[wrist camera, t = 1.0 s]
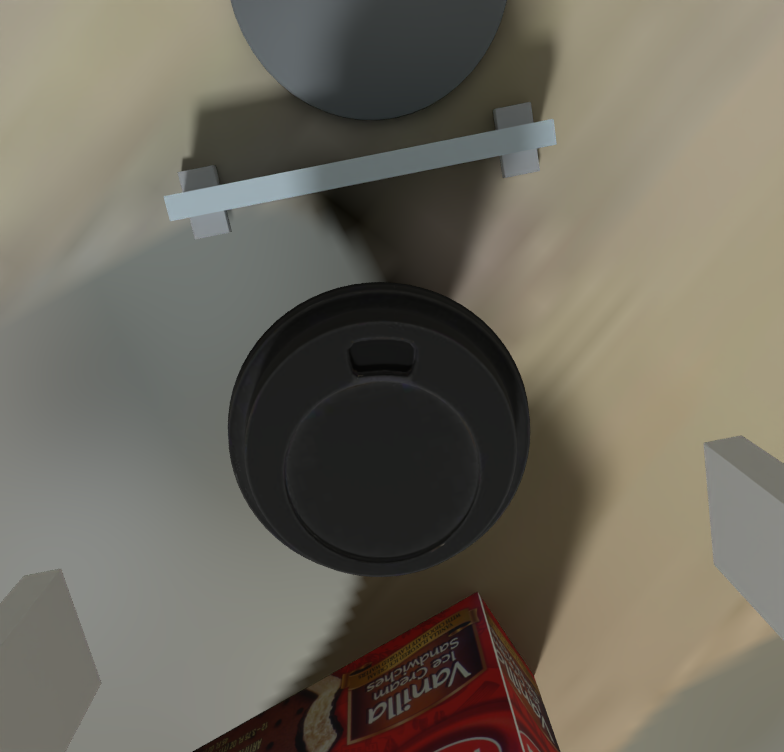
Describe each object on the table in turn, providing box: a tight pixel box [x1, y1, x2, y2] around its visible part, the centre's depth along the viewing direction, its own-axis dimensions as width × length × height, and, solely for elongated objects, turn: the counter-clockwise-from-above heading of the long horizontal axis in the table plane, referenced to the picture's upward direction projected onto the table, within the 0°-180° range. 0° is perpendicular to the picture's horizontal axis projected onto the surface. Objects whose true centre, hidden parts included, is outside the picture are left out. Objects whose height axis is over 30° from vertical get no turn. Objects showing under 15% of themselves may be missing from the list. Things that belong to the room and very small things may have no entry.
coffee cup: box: [228, 282, 530, 577], centre depth 28 cm, size 9×9×15 cm
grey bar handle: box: [164, 102, 556, 239], centre depth 31 cm, size 16×3×4 cm, turn 101°
